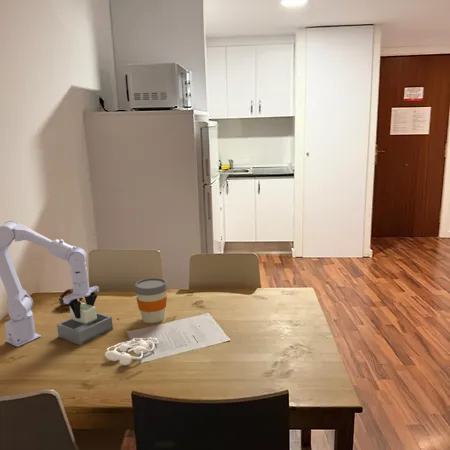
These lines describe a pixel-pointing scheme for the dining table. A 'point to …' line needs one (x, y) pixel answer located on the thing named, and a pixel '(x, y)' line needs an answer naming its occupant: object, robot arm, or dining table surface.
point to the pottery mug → (69, 294)
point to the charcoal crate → (84, 329)
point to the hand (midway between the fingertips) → (84, 315)
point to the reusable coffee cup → (151, 299)
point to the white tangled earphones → (126, 357)
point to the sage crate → (85, 313)
